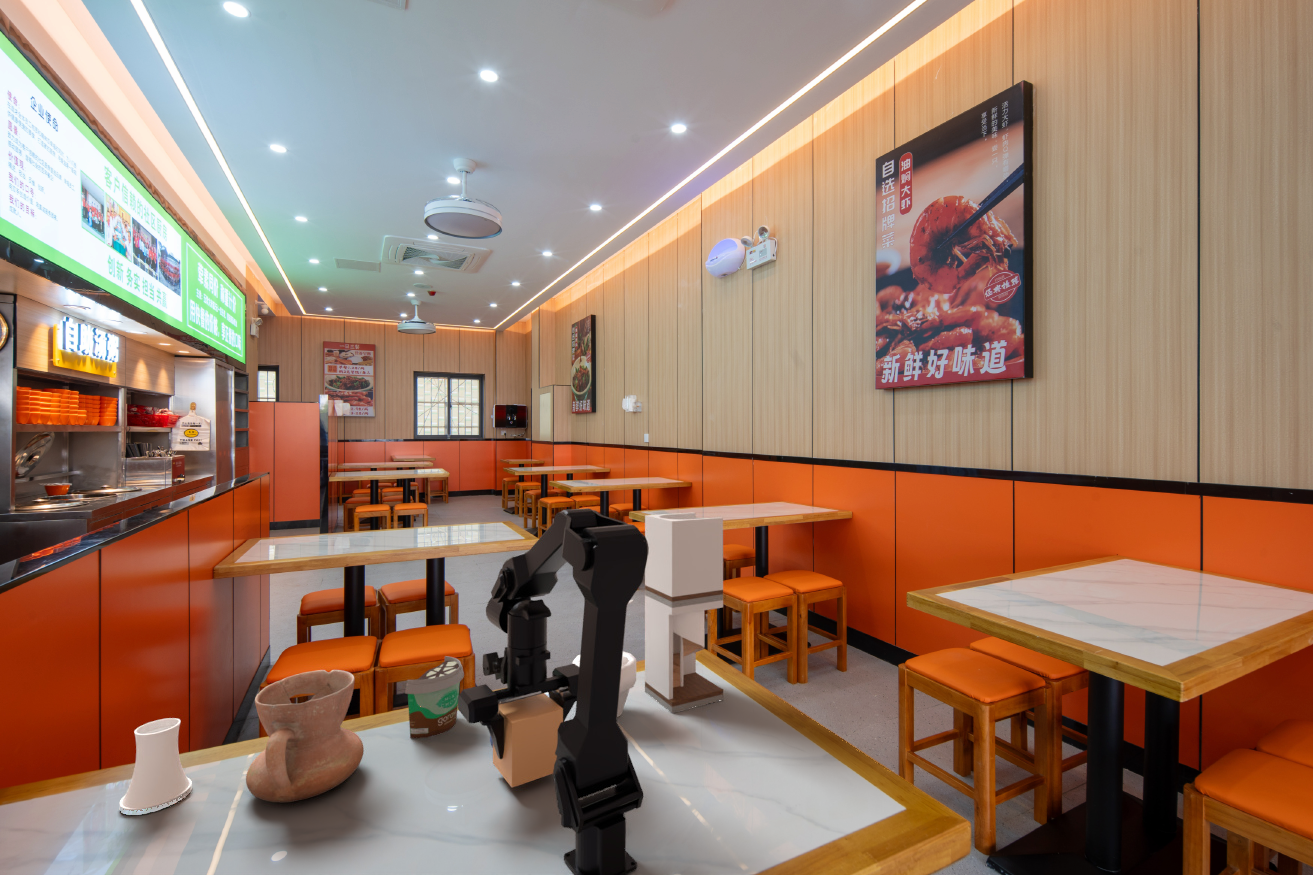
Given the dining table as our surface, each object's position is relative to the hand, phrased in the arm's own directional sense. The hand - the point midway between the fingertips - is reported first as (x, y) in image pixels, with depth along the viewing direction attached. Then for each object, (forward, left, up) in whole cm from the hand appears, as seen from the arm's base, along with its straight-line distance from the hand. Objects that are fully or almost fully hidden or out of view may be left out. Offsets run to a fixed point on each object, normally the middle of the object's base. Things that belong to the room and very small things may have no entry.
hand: (526, 749), depth 86 cm
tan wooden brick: (0, 0, -2) cm, 2 cm away
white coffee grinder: (+9, -36, -4) cm, 37 cm away
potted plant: (+11, -20, -4) cm, 23 cm away
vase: (+24, +44, -4) cm, 50 cm away
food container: (+23, +6, -4) cm, 24 cm away
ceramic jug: (+16, +27, -4) cm, 32 cm away
